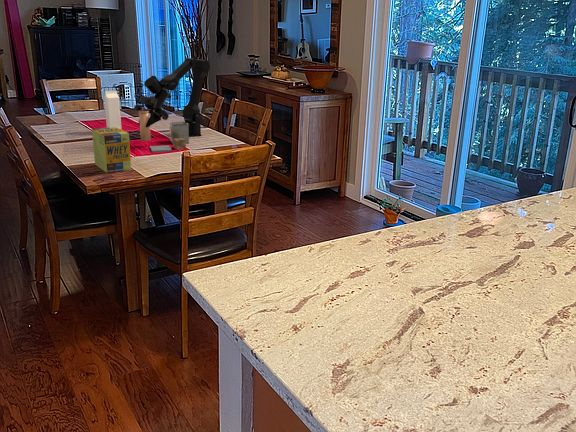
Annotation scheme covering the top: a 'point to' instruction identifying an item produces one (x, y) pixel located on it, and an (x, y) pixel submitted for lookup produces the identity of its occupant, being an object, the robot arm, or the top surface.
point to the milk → (112, 109)
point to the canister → (144, 125)
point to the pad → (160, 148)
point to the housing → (179, 131)
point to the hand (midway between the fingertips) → (142, 126)
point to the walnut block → (179, 143)
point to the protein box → (111, 149)
